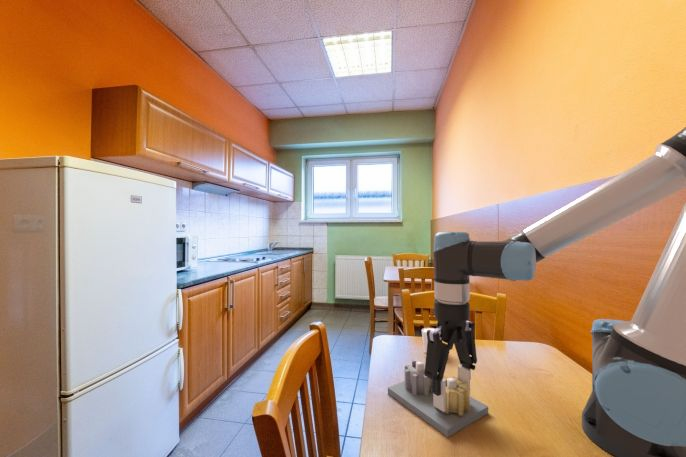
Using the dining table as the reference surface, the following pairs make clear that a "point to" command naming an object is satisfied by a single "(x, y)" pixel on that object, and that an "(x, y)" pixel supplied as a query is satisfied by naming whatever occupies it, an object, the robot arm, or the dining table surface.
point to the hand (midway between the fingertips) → (452, 401)
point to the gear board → (420, 401)
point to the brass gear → (457, 397)
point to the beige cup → (425, 338)
